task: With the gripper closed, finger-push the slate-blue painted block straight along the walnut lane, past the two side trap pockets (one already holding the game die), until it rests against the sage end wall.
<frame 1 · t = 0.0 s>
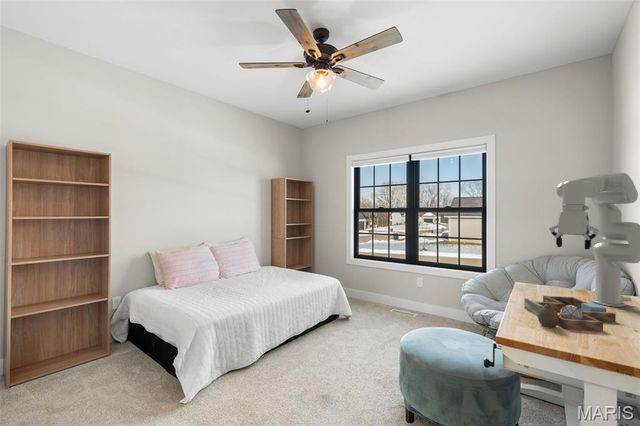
hand: (572, 248, 130), 31 cm above the table, tool pointing down, fingers open, 9 cm apart
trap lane: (568, 314, 136), on the table
slate block: (593, 316, 134), on the table
vase: (548, 326, 122), on the table
game die: (571, 324, 125), on the table
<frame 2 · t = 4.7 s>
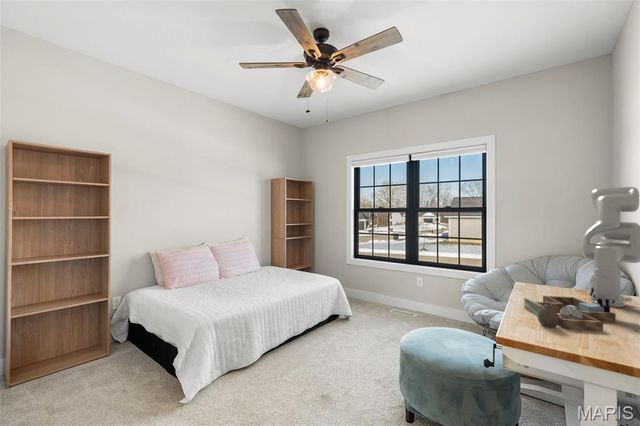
hand: (604, 314, 133), 1 cm above the table, tool pointing down, fingers closed
slate block: (590, 316, 134), on the table, touching gripper
everything else where it was.
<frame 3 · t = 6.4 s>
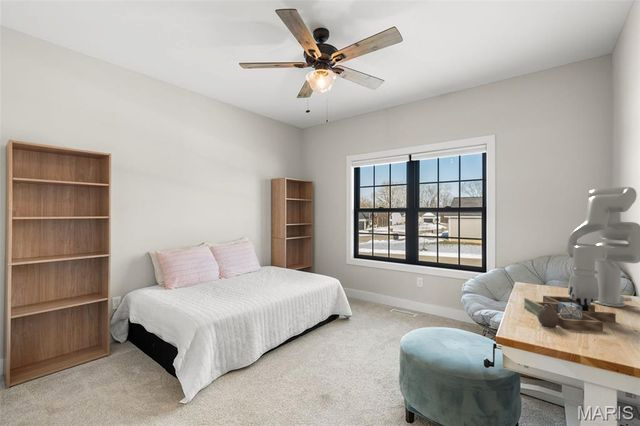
hand: (583, 313, 135), 1 cm above the table, tool pointing down, fingers closed
slate block: (569, 315, 136), on the table, touching gripper
everything else where it was.
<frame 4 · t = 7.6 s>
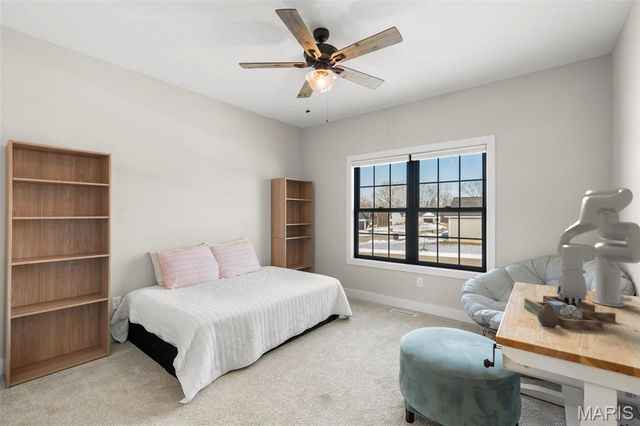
hand: (571, 312, 135), 1 cm above the table, tool pointing down, fingers closed
slate block: (557, 314, 136), on the table, touching gripper
everything else where it was.
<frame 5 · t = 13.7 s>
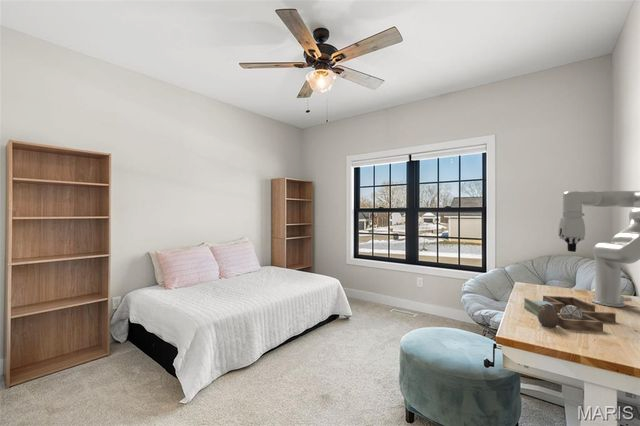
hand: (571, 251, 152), 27 cm above the table, tool pointing down, fingers closed
slate block: (542, 313, 137), on the table
everything else where it was.
at the end: slate block inside the target area (0.1 cm from its centre), on the table; slate block tilted 0° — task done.
